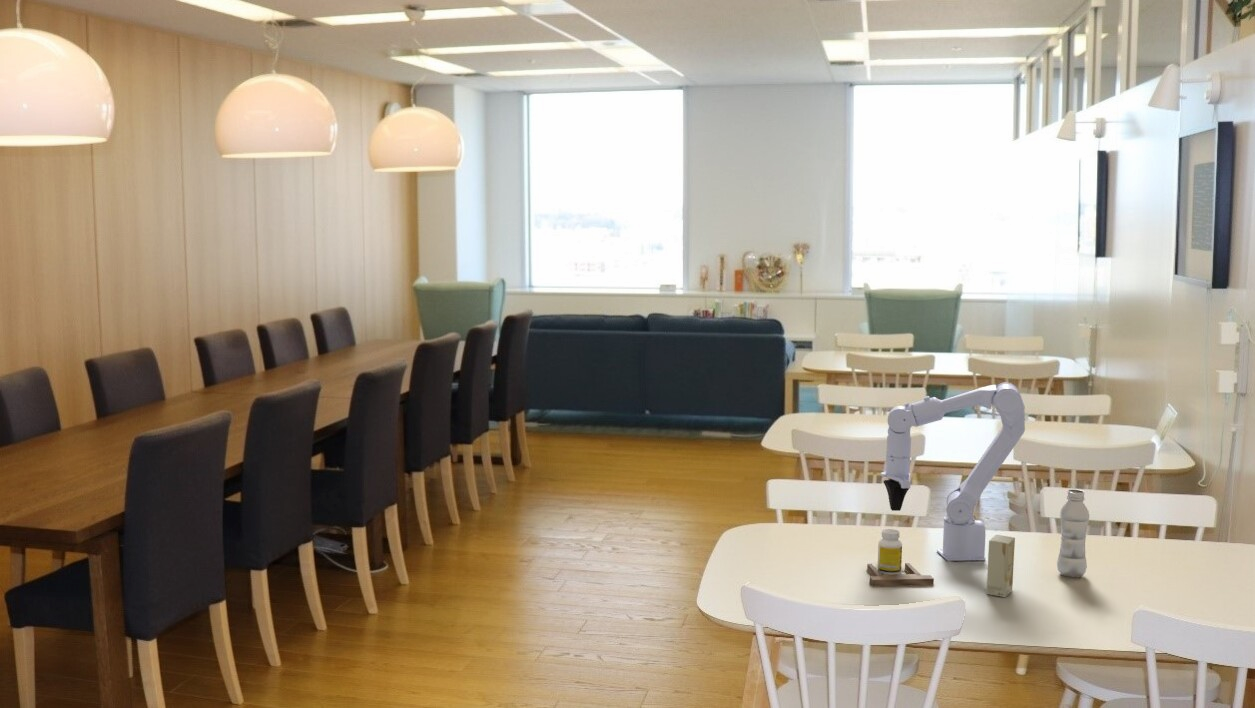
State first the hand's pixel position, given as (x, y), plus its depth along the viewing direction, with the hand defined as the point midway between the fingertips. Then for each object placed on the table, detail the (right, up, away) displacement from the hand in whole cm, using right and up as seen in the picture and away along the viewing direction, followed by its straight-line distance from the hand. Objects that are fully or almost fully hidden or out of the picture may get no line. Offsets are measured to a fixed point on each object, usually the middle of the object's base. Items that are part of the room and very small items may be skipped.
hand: (895, 509), depth 286 cm
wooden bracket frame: (-4, -13, -19) cm, 23 cm away
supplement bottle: (-5, -13, -15) cm, 20 cm away
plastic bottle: (+37, -13, -17) cm, 42 cm away
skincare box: (+17, -15, -28) cm, 36 cm away
